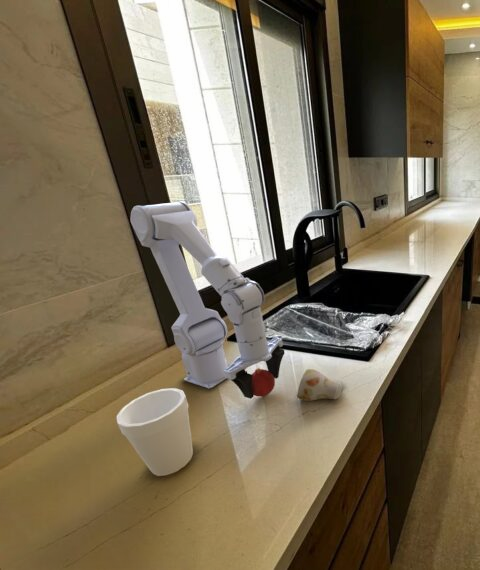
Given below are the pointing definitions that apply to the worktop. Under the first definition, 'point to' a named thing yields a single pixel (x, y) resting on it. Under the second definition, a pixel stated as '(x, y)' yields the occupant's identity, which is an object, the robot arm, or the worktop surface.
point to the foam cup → (159, 429)
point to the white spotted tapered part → (317, 386)
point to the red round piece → (262, 382)
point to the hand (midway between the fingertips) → (262, 386)
